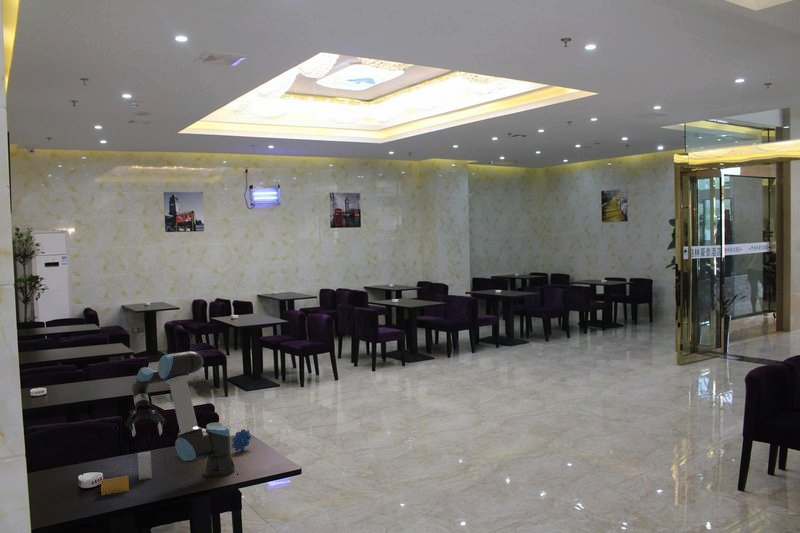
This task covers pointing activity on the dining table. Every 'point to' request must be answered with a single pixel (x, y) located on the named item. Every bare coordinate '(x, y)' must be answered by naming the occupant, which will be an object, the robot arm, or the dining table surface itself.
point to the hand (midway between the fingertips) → (147, 434)
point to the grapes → (241, 440)
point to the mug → (214, 424)
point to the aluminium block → (144, 465)
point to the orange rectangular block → (114, 485)
